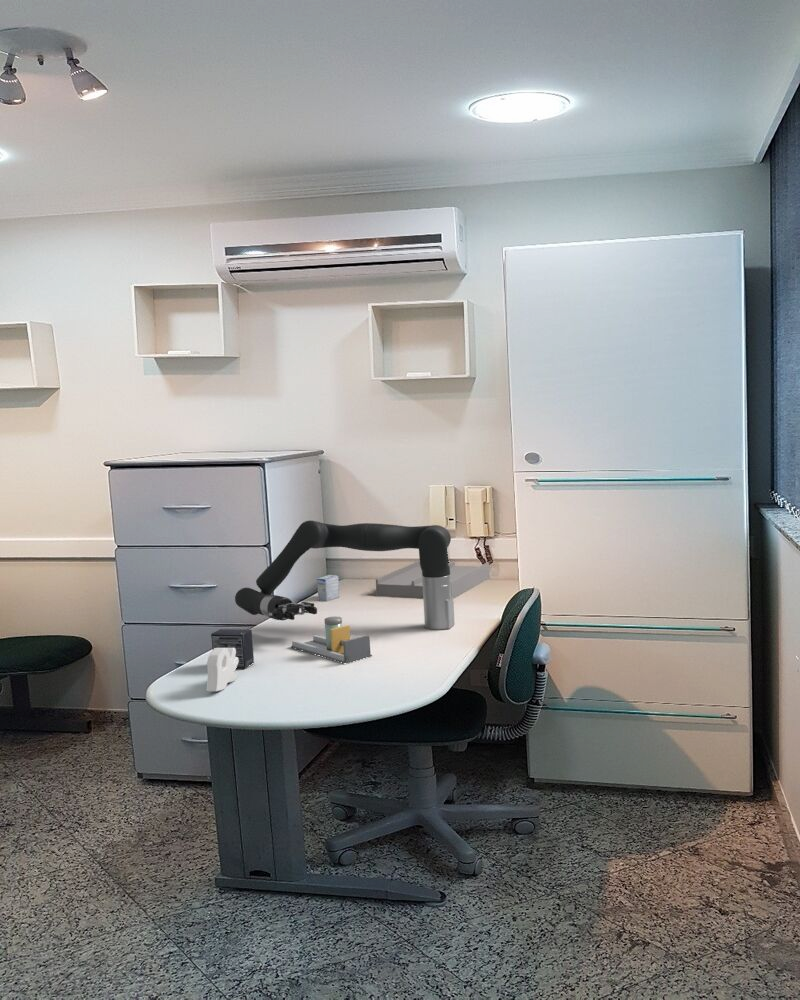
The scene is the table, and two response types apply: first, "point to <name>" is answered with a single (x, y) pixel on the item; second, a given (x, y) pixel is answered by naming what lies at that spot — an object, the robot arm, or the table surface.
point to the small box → (236, 644)
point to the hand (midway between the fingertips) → (304, 613)
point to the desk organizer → (411, 584)
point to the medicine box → (328, 587)
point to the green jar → (331, 624)
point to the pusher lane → (352, 652)
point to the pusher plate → (339, 638)
